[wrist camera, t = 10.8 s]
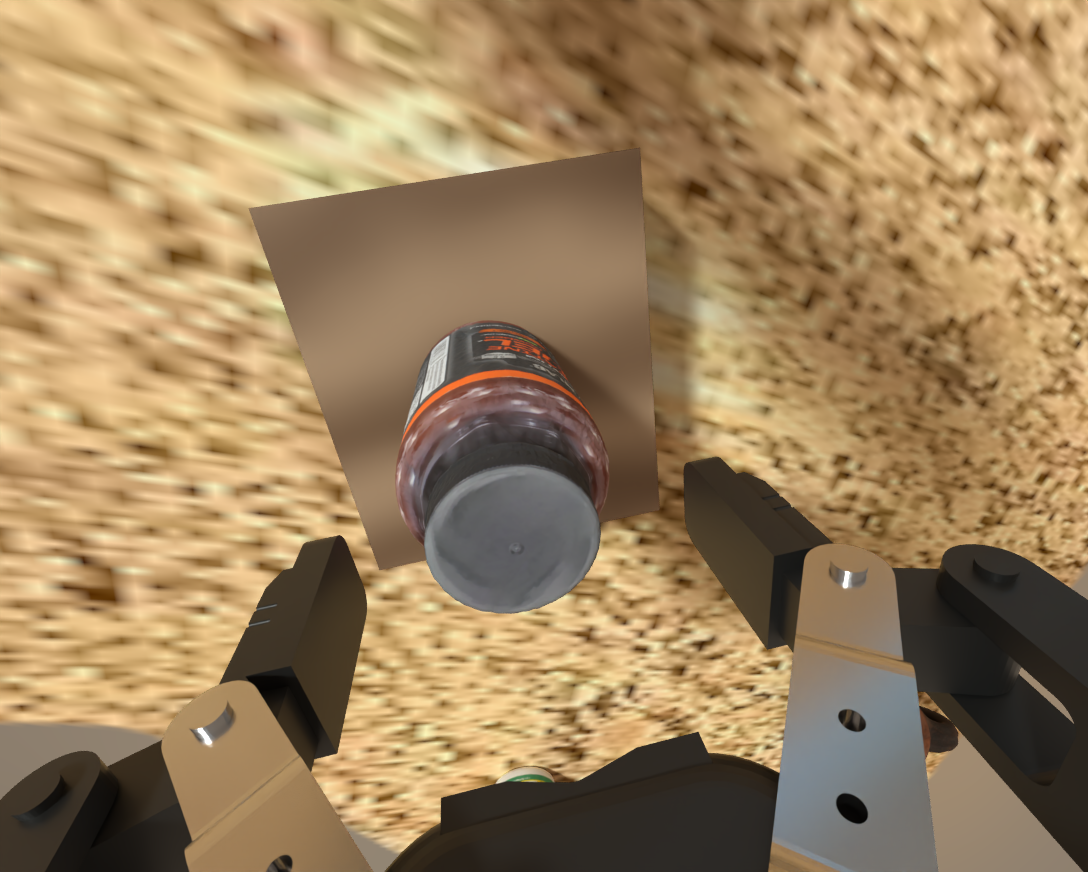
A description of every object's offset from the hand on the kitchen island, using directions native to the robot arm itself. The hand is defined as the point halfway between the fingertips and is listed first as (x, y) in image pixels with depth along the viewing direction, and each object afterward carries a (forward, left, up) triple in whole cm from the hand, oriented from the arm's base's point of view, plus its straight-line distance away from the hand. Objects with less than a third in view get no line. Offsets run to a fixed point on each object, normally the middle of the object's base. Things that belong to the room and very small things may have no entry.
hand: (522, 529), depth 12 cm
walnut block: (0, 0, -17) cm, 17 cm away
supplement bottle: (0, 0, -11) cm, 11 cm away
